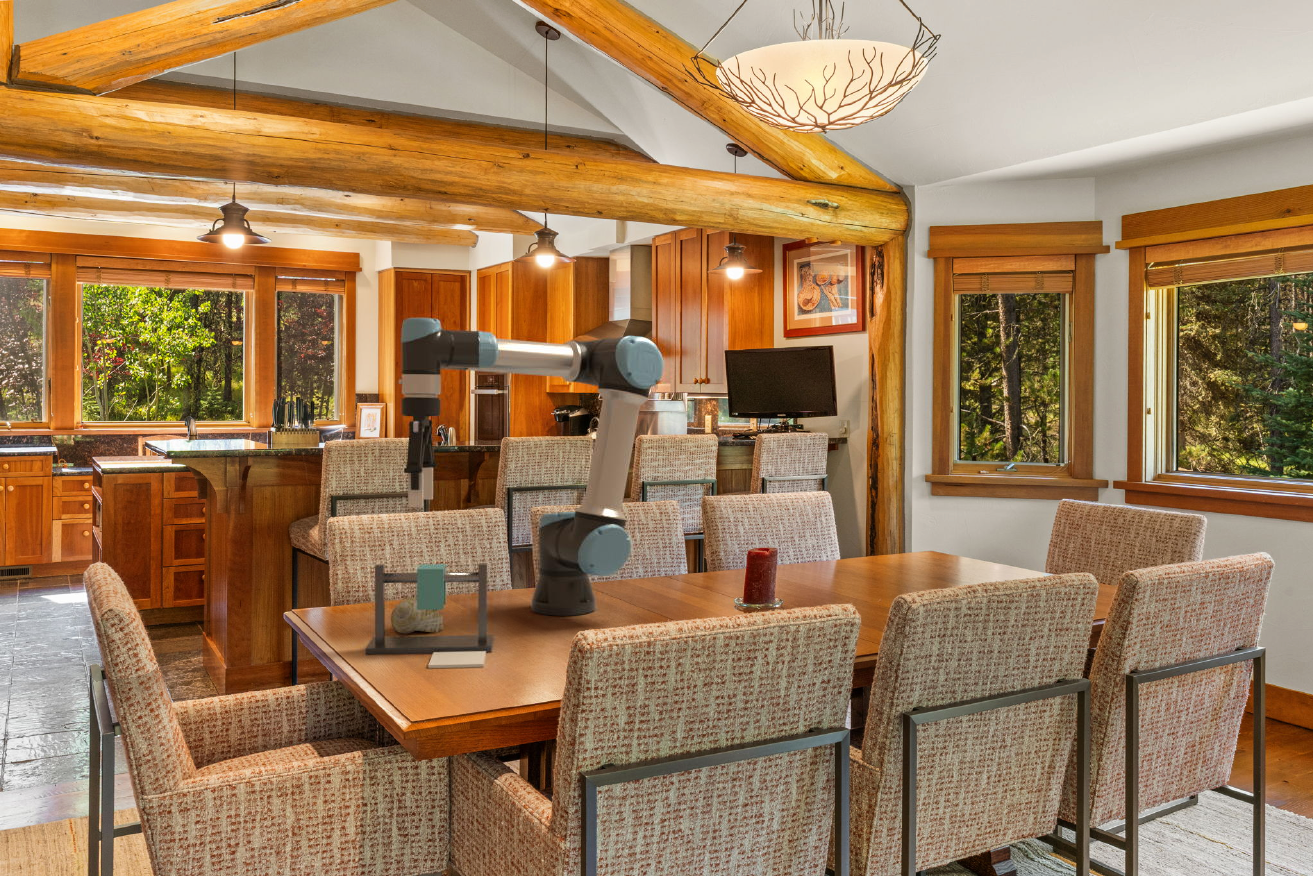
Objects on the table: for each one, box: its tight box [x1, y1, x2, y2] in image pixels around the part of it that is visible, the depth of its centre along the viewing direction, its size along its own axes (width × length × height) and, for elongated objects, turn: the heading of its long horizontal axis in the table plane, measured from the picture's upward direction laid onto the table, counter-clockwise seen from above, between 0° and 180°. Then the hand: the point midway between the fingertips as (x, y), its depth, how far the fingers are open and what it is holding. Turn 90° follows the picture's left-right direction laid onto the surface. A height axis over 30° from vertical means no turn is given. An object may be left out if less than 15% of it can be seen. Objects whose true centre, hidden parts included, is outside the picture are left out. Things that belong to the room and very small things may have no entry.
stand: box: [364, 562, 495, 656], centre depth 193 cm, size 24×9×17 cm, turn 97°
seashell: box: [389, 596, 444, 634], centre depth 207 cm, size 10×10×10 cm
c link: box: [416, 563, 447, 611], centre depth 193 cm, size 5×6×8 cm
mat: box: [427, 651, 487, 669], centre depth 184 cm, size 10×9×1 cm
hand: (421, 503), depth 194 cm, fingers open, 13 cm apart
